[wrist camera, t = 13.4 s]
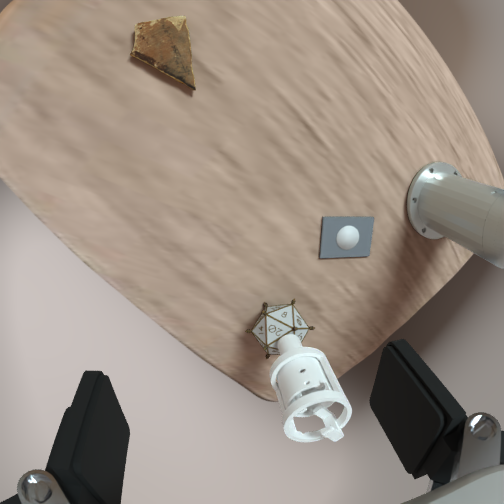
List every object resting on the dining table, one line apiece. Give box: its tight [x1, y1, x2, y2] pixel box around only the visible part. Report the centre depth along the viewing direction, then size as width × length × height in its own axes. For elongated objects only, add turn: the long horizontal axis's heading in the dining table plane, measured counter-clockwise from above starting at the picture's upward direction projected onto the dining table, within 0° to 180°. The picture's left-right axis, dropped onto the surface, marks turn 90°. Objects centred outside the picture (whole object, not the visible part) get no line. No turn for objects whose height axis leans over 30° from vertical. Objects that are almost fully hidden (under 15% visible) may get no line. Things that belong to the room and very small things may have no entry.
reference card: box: [319, 217, 374, 258], centre depth 45 cm, size 8×6×1 cm
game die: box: [245, 299, 315, 359], centre depth 45 cm, size 9×8×10 cm
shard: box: [130, 16, 196, 90], centre depth 34 cm, size 11×8×2 cm
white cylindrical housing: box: [270, 334, 352, 442], centre depth 34 cm, size 7×7×15 cm
